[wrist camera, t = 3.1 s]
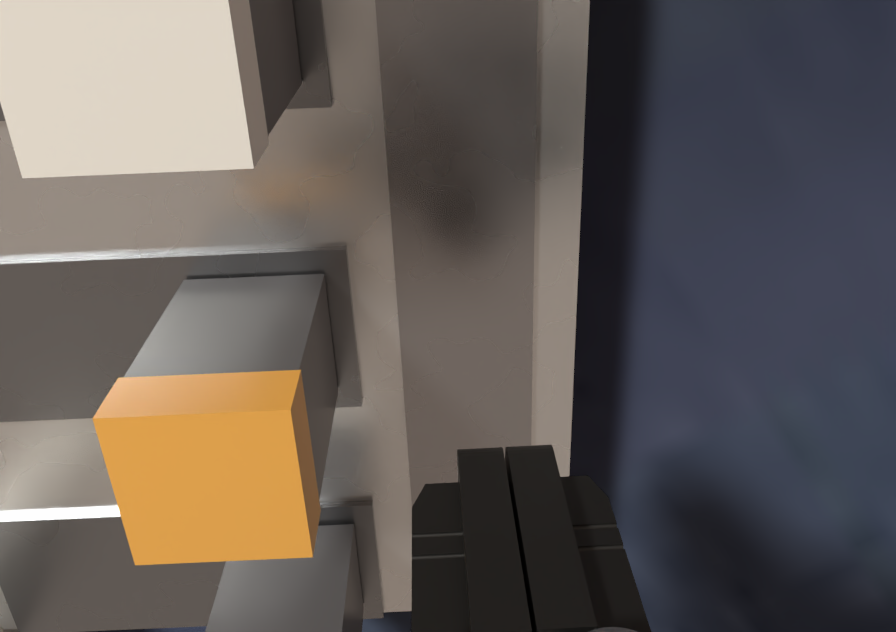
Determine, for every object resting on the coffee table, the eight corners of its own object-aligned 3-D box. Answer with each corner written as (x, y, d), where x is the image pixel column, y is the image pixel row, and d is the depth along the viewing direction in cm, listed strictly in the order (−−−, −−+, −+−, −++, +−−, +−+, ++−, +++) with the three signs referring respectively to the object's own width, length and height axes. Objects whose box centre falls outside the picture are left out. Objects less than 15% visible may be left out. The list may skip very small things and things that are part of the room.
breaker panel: (569, -134, 17) (597, -139, 14) (549, 528, 25) (565, 609, 22) (-597, -87, 17) (-807, -82, 14) (-227, 563, 25) (-310, 649, 22)
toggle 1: (283, -96, 14) (214, -90, 9) (305, 85, 15) (253, 168, 11) (104, -89, 14) (-54, -80, 9) (142, 92, 15) (22, 177, 11)
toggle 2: (326, 271, 17) (290, 409, 13) (340, 393, 19) (313, 557, 14) (181, 278, 17) (92, 418, 13) (206, 399, 19) (135, 565, 14)
